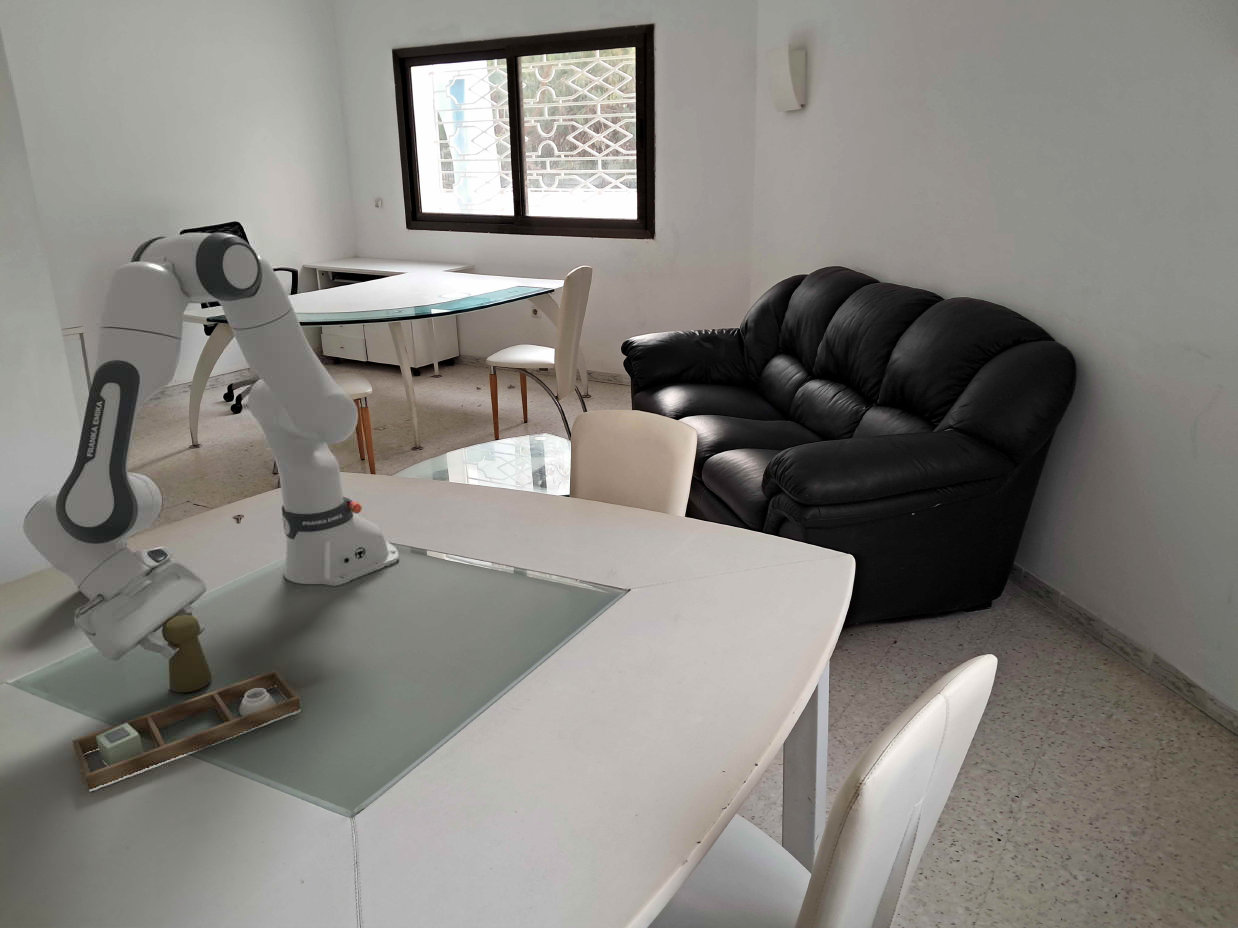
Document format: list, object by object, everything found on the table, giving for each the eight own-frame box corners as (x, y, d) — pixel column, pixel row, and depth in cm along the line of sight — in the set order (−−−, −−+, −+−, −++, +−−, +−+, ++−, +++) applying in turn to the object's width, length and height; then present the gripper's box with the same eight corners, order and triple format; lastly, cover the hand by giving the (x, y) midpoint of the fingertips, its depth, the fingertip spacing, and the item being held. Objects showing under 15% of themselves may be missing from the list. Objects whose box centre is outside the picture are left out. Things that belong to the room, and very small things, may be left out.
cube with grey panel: (131, 746, 123) (126, 721, 122) (144, 758, 121) (138, 733, 119) (101, 760, 120) (95, 735, 119) (113, 773, 118) (107, 747, 116)
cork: (195, 694, 134) (183, 631, 130) (160, 689, 135) (148, 627, 131) (220, 672, 139) (209, 611, 136) (186, 668, 140) (175, 607, 137)
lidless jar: (282, 708, 132) (264, 696, 135) (279, 692, 131) (261, 680, 134) (251, 724, 128) (233, 711, 131) (248, 707, 127) (230, 694, 130)
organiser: (278, 683, 138) (276, 669, 137) (301, 711, 131) (299, 697, 130) (75, 755, 121) (72, 740, 120) (89, 792, 114) (85, 776, 113)
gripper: (77, 603, 122) (152, 670, 124) (172, 542, 141) (236, 601, 143) (56, 627, 125) (130, 693, 126) (153, 564, 143) (216, 622, 145)
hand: (187, 644), depth 135 cm, fingers closed on cork, 5 cm apart
